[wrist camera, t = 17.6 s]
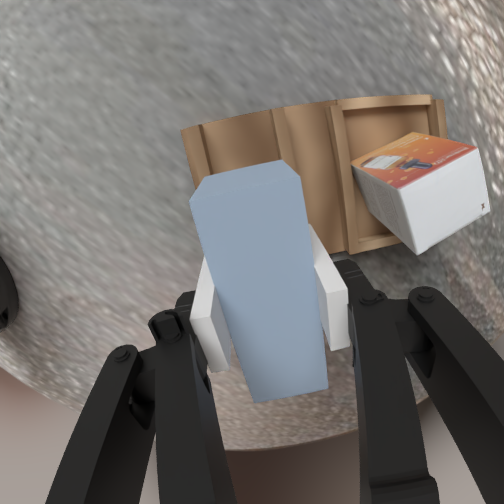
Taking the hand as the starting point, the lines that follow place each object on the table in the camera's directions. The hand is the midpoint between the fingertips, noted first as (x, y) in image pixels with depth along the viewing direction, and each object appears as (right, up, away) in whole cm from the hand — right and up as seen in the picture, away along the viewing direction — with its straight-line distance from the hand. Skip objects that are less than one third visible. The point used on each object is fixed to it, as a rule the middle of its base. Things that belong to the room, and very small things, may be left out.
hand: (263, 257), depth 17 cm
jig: (+7, +7, +12) cm, 16 cm away
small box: (+13, +8, +11) cm, 19 cm away
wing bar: (0, 0, +1) cm, 1 cm away
